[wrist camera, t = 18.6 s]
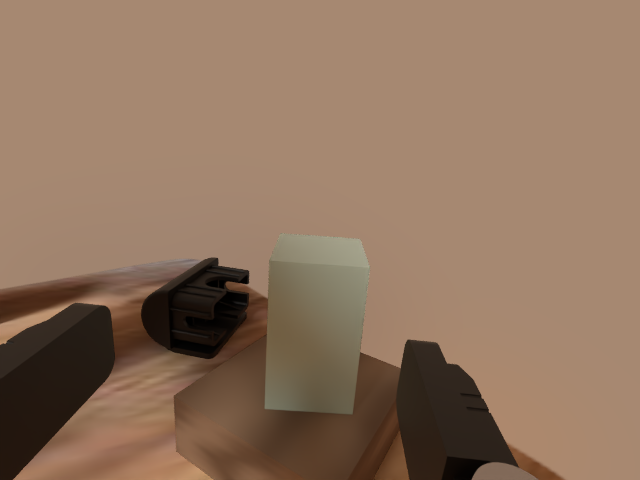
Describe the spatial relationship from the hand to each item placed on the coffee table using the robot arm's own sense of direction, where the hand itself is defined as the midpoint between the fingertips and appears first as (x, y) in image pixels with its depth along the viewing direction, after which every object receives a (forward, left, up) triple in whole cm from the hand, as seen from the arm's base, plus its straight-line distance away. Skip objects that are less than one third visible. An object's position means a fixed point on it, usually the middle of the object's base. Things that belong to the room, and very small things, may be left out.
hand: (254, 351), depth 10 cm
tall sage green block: (-7, +11, -11) cm, 17 cm away
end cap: (-25, +13, -16) cm, 33 cm away
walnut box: (-8, +11, -16) cm, 21 cm away
